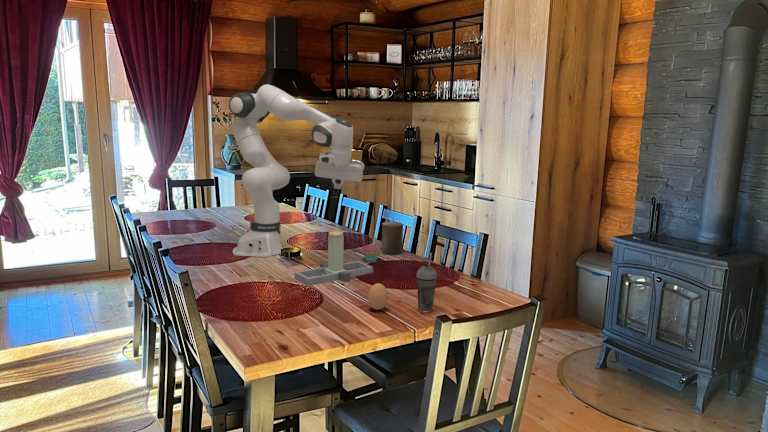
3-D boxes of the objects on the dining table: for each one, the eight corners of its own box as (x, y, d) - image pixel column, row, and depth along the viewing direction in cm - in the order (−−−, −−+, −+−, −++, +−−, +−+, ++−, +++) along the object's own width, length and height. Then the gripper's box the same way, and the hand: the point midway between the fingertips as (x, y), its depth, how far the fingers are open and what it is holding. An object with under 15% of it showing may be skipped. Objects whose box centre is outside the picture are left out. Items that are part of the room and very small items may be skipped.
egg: (387, 306, 196) (388, 280, 194) (388, 313, 189) (388, 286, 187) (367, 305, 195) (368, 280, 194) (367, 312, 189) (368, 286, 187)
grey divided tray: (312, 288, 212) (312, 280, 211) (290, 276, 226) (290, 268, 225) (378, 275, 230) (378, 267, 230) (353, 264, 244) (353, 257, 243)
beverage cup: (413, 306, 196) (415, 249, 192) (434, 306, 197) (436, 250, 193) (416, 314, 189) (418, 255, 185) (437, 314, 190) (440, 255, 186)
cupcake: (382, 259, 254) (383, 232, 251) (376, 264, 246) (377, 236, 243) (364, 257, 256) (365, 230, 254) (357, 261, 248) (358, 234, 246)
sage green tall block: (333, 277, 224) (334, 235, 220) (324, 273, 229) (324, 231, 226) (346, 275, 227) (347, 233, 224) (337, 271, 233) (337, 229, 229)
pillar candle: (400, 255, 260) (401, 223, 257) (379, 253, 262) (380, 221, 259) (403, 250, 270) (405, 219, 267) (383, 249, 271) (384, 218, 269)
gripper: (365, 158, 241) (362, 188, 247) (317, 152, 241) (315, 182, 247) (364, 163, 235) (360, 194, 241) (315, 157, 236) (312, 187, 241)
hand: (337, 188), depth 244 cm, fingers closed
